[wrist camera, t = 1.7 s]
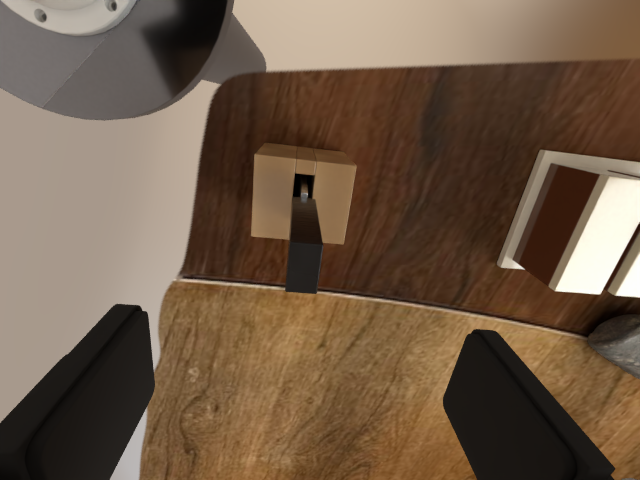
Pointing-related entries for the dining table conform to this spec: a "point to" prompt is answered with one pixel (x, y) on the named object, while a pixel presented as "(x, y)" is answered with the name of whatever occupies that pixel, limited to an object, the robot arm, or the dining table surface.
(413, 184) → the dining table surface
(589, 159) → the brown and cream block
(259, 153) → the knife block
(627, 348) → the stone
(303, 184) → the knife
